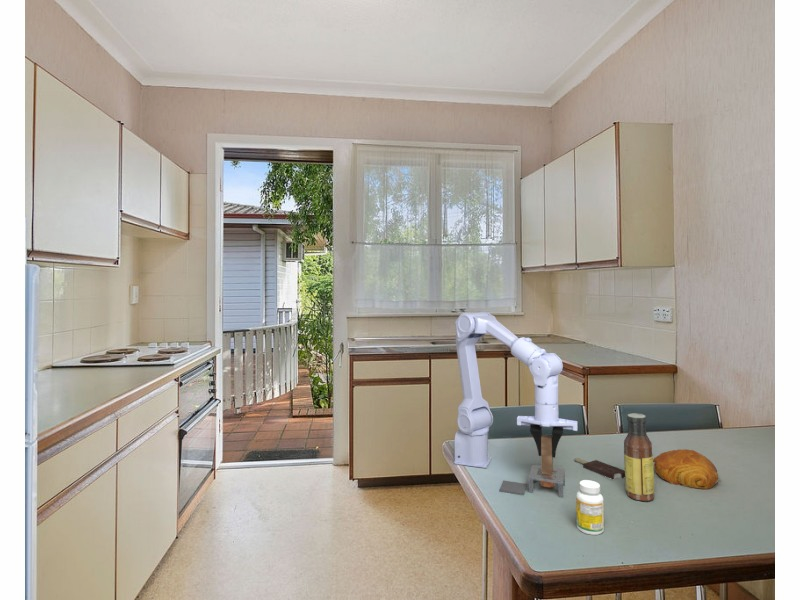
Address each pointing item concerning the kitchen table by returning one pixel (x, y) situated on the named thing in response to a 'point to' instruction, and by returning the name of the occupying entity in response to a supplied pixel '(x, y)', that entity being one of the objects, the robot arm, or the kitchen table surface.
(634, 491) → the sauce bottle
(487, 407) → the robot arm
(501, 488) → the pad
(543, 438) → the stylus stick
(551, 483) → the button
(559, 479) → the guard frame
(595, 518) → the supplement bottle
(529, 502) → the kitchen table surface
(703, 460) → the croissant
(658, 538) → the kitchen table surface
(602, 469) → the ice cream bar
